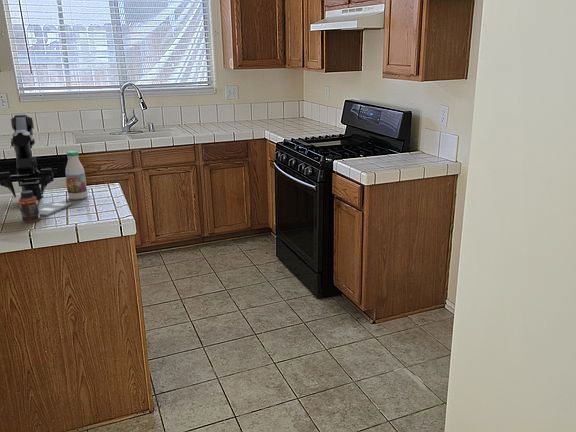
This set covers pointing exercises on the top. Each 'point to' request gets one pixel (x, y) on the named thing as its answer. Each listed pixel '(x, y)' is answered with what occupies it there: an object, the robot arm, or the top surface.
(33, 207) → the supplement bottle
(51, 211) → the label panel
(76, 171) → the milk bottle
